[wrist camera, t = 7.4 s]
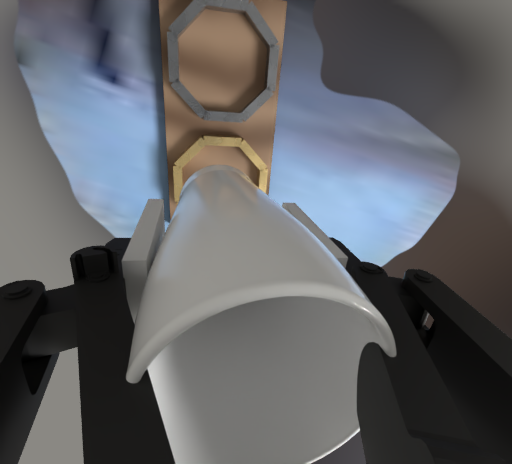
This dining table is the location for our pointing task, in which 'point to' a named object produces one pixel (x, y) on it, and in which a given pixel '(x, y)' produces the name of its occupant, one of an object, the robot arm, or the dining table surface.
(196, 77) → the walnut board
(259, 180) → the far collar
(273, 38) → the near collar
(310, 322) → the drinking glass
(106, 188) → the dining table surface
